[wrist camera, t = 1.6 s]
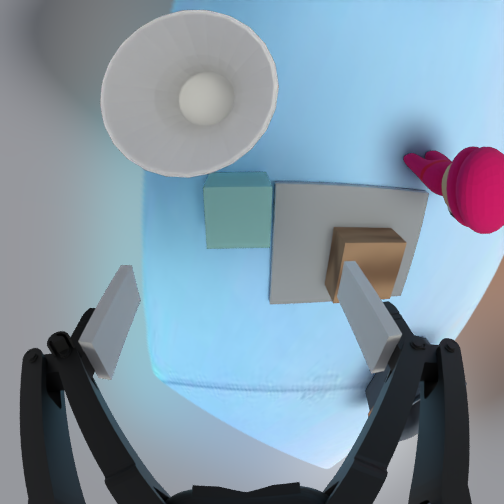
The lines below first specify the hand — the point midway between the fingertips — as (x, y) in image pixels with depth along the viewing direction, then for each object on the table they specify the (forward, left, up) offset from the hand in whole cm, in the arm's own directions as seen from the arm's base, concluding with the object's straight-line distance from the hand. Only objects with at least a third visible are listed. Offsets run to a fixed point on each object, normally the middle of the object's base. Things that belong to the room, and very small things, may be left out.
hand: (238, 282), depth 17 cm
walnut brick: (+7, +15, -15) cm, 22 cm away
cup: (-11, -3, -16) cm, 20 cm away
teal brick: (0, 0, -16) cm, 16 cm away
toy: (-6, +22, -16) cm, 28 cm away
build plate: (+6, +14, -16) cm, 22 cm away
